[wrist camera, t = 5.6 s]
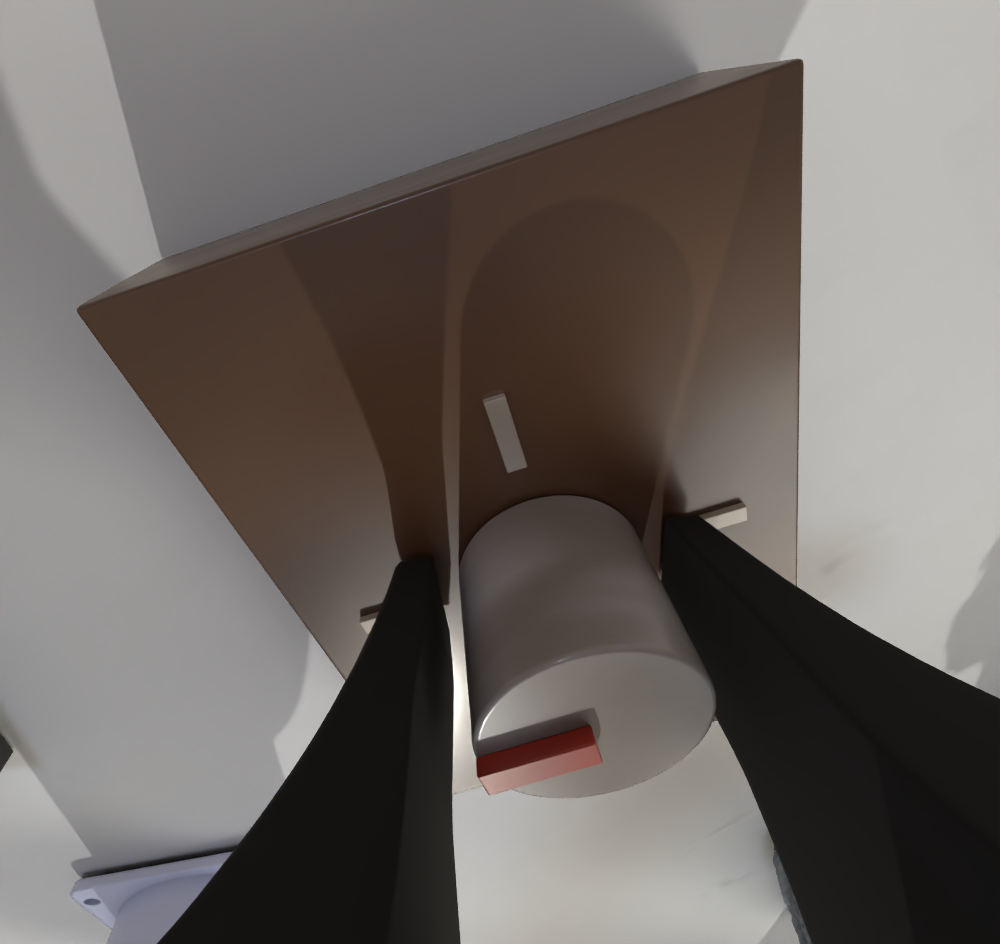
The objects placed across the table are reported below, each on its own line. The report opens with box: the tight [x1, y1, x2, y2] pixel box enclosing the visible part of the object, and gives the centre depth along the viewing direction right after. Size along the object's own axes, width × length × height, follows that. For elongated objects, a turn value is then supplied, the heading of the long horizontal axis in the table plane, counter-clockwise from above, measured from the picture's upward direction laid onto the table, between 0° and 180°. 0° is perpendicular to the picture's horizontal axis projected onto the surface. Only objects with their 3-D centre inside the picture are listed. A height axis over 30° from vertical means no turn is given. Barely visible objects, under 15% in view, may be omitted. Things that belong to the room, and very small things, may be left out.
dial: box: [459, 495, 716, 798], centre depth 9 cm, size 4×4×4 cm
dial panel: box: [77, 59, 803, 794], centre depth 12 cm, size 14×10×3 cm
